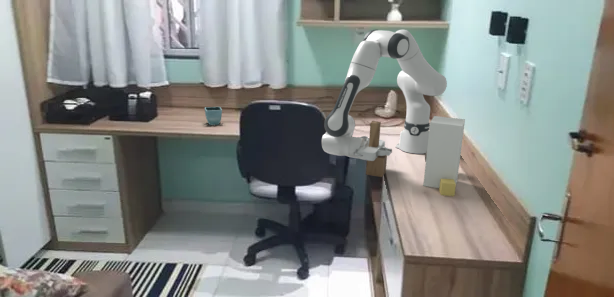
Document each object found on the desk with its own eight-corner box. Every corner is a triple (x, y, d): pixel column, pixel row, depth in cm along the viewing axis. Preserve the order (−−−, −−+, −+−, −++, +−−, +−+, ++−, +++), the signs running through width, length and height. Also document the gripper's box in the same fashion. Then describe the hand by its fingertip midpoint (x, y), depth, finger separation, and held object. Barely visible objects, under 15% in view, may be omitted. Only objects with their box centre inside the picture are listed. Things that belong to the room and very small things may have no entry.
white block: (427, 176, 209) (434, 115, 202) (457, 180, 205) (465, 119, 198) (423, 185, 199) (430, 122, 191) (454, 190, 195) (462, 126, 187)
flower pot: (204, 122, 283) (204, 107, 280) (220, 121, 286) (220, 106, 283) (206, 126, 275) (206, 110, 272) (222, 125, 278) (222, 109, 275)
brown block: (373, 119, 209) (390, 121, 206) (369, 169, 215) (385, 171, 213) (369, 123, 202) (386, 125, 200) (365, 174, 209) (382, 177, 207)
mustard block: (439, 190, 194) (440, 178, 193) (452, 191, 194) (453, 179, 193) (440, 195, 190) (442, 183, 188) (454, 196, 189) (455, 184, 188)
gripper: (352, 147, 200) (386, 151, 196) (365, 134, 219) (396, 139, 214) (351, 162, 202) (384, 167, 198) (364, 148, 221) (395, 153, 216)
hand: (391, 152), depth 206 cm, fingers closed
